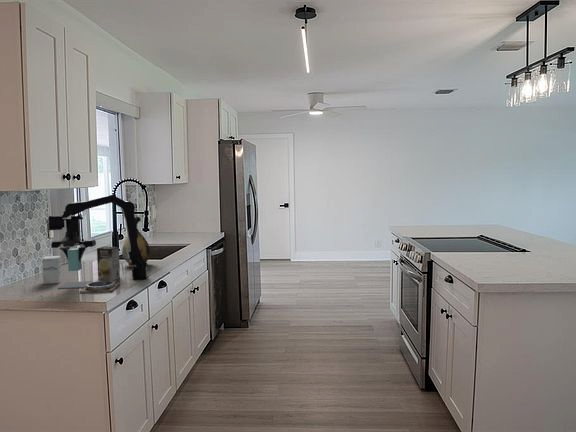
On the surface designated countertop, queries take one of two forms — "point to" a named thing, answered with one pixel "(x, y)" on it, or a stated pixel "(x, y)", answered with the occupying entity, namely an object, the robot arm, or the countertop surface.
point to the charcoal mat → (74, 285)
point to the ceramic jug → (141, 244)
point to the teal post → (74, 260)
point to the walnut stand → (99, 290)
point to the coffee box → (108, 263)
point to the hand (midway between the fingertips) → (74, 261)
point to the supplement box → (51, 269)
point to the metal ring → (100, 285)
